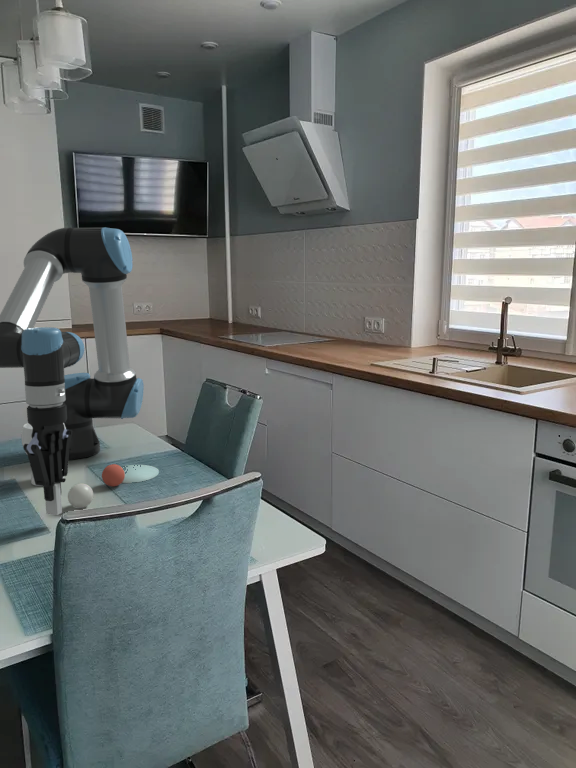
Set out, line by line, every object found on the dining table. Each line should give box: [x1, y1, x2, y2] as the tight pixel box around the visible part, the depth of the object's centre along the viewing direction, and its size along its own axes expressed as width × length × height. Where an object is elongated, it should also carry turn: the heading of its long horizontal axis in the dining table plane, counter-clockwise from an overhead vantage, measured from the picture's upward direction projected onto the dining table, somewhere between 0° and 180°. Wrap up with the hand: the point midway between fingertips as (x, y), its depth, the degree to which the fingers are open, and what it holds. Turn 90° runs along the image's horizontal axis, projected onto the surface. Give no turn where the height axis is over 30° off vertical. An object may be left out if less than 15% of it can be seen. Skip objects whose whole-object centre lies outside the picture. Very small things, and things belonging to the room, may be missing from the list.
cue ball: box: [67, 483, 94, 509], centre depth 132 cm, size 6×6×6 cm
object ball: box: [101, 463, 125, 488], centre depth 146 cm, size 6×6×6 cm
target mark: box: [121, 464, 160, 484], centre depth 155 cm, size 14×14×1 cm
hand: (54, 512), depth 123 cm, fingers closed
